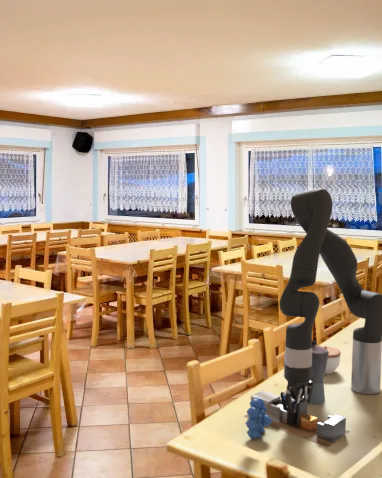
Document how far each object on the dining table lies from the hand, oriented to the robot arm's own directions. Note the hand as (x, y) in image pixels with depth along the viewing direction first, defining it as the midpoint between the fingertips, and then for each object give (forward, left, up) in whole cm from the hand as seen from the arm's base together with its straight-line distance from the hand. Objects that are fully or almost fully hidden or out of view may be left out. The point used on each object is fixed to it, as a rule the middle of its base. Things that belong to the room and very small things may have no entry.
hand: (296, 421), depth 153 cm
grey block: (0, -3, -1) cm, 3 cm away
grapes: (+13, -4, -2) cm, 13 cm away
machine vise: (0, 0, -2) cm, 2 cm away
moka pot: (-18, -6, -3) cm, 19 cm away
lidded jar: (-48, -18, -3) cm, 51 cm away
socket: (0, +11, -1) cm, 11 cm away
